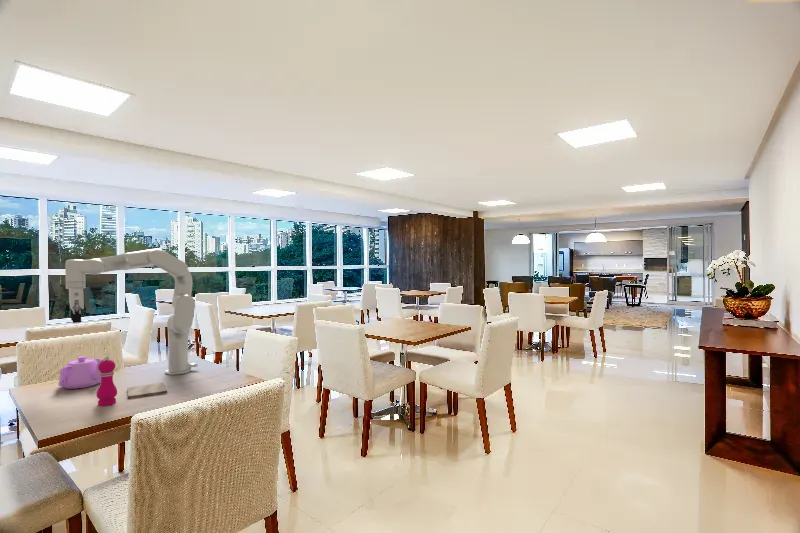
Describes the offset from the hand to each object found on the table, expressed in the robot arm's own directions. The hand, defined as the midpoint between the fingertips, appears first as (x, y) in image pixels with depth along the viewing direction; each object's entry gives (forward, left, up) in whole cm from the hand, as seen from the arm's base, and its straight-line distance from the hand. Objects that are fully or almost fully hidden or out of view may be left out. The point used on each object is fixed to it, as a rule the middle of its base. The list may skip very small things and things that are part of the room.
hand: (76, 321), depth 202 cm
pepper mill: (-12, +36, -31) cm, 49 cm away
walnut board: (-27, +26, -31) cm, 49 cm away
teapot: (-3, 0, -31) cm, 32 cm away
